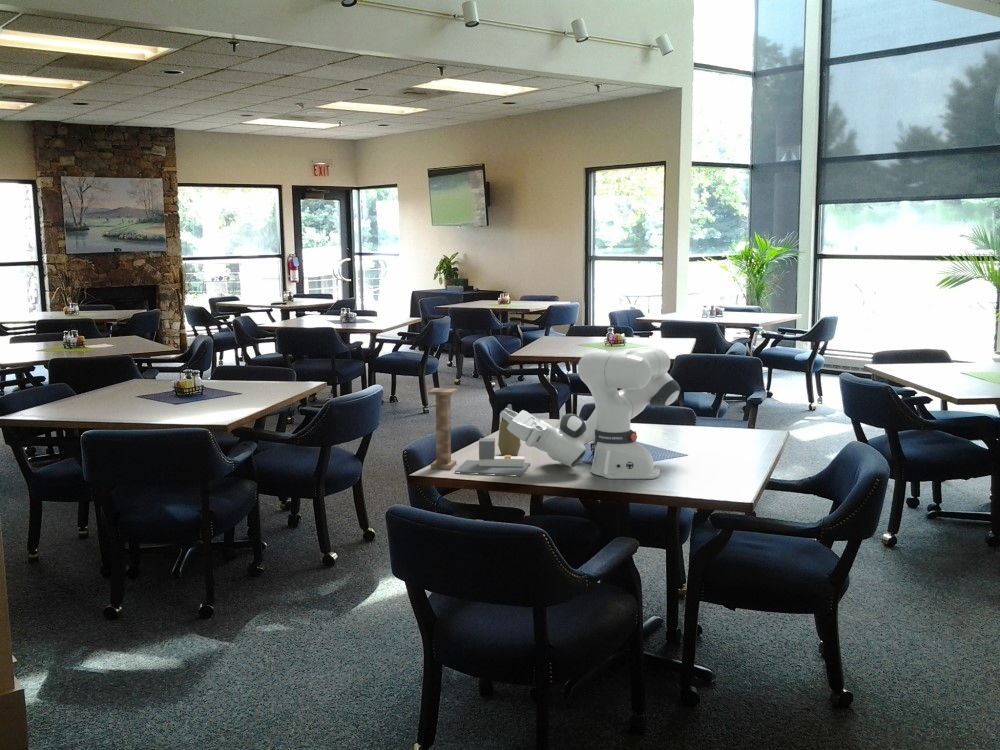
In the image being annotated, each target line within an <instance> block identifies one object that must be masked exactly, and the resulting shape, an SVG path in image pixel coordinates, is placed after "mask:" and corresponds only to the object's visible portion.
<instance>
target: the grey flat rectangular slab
mask: <svg viewBox="0 0 1000 750" xmlns="http://www.w3.org/2000/svg"><path fill="white" fill-rule="evenodd" d="M530 466H531V462H525V465H524V467H523V466H479V459H478V460H476V459H466V460H465V461H464V462H463V463H462V464H461V465H459V467H458V468H457V469H455V470H454V473H455V472H460V473H478V474H495V475H494V476H497V475H516V476H515V477H517V476H522V477H523V475H524V474H525V473H526V471H528V469H529V468H528V467H530ZM524 472H525V473H524ZM523 473H524V474H523ZM478 474H477V475H478Z"/></svg>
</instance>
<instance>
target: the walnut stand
mask: <svg viewBox="0 0 1000 750" xmlns="http://www.w3.org/2000/svg"><path fill="white" fill-rule="evenodd" d="M458 389H459V388H449V387H434V388H432V389H431V390H428V391H427V395H429V396H430V395H432V396H435V454H436V455H435V459H436V460H434V461H433V462H432V463H430V469H431V468H434V469H433V470H446V469H451V470H453V469H454V468H455V467H456V466H457V460H452V441H451V440H452V438H451V437H452V431H451V430H452V425H451V424H452V423H451V422H452V421H451V420H452V417H451V416H452V415H451V412H452V411H451V396H453V395H455V394H456V393H458V391H459V390H458ZM455 465H456V466H455ZM454 466H455V467H454ZM453 467H454V468H453ZM452 468H453V469H452Z"/></svg>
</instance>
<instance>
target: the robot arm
mask: <svg viewBox="0 0 1000 750" xmlns="http://www.w3.org/2000/svg"><path fill="white" fill-rule="evenodd" d="M670 367H671V358H670V356H669V354H668V353H667V352H666V351H664V350H662V349H659V348H653V347H649V348H648V347H647V348H640V349H634V350H633V349H632V350H629V351H627V352H626V353H625V354H624V353H615V352H614V353H613V352H601V351H598V352H597V351H596V352H591V353H590V352H589V353H585V354H583V355H582V356H581V357H580V359H579V361H578V364H577V374H578V376H579V378H580V380H581V381H582V382H583V383H584V384H585V386H586V387H588V389H589V391H590V393H591V395H592V399H593V402H594V405H595V408H594V410H593V412H592V413H591V415H590V416H589V418H587V420H586V421H584V419H583V418H582V417H581V416H579V415H578V414H575V413H574V414H573V413H566V414H564V415H563V416H562V417H560V419H559V420H558V422H557V423H556V425H555V426H553V425H552V424H550V423H548V422H546V421H545V420H543V419H538V418H537V417H535V416H534V415H533V414H531V413H529V412H528V411H526V410H524V409H522V410H521V411H519V413H518V412H516V411H514V410H513V409H512V410H509V409H508V408H507V407H505V408H504V409H503V410H501V411H500V413H499V417H501V418H502V419H503V418H504V419H505V420H506V421H507V422H508V423H509V425H508V427H507V429H508V430H509V431H510V432H511V433H512V434H513V435H515V436H516V437H518V438H519V439H520V441H522V442H525V443H524V445H526V446H527V447H530V448H536V449H537V450H539V451H541V452H543V453H546V454H547V455H548V457H549V458H550V459H551V460H554V461H556V462H558V463H561V464H562V465H565V466H567V467H570V468H571V467H575V466H576V465H578V464H579V463H580V461H581V460H582V459H583V458H584V456H585V454H586V451H587V449H586V445H588V444H590V443H591V442H592V441H594V442H593V443H594V454H593V455H594V456H593V460H592V464H591V468H590V470H589V471H590V473H592V474H593V475H597V476H601V477H603V478H605V479H613V480H614V479H616V480H622V479H624V480H625V479H627V480H629V479H630V480H631V479H632V480H634V479H635V480H640V479H642V480H643V479H644V480H653V479H657V478H659V477H660V476H661V469H660V468H659V467H657V466H655V464H654V459H653V458H654V457H653V456H652V454H651V452H650V451H649V450H648V449H646V448H645V447H644V446H643V445H642V444H640V443H639V442H637V439H638V435H637V432H636V430H632V429H631V420H632V419H634V418H635V417H636V416H638V415H639V414H640V413H641V412H643V411H644V410H645V409H646V407H647V406H648V405H649V406H650V407H651V408H653V409H655V408H665V407H668V406H671V404H673V403H674V402H676V400H677V399H678V397H679V395H680V393H681V386H680V385H679V383H678V381H677V380H675V379H674V378H673V377H672V376H671V374H669V373H668V371H669V370H670ZM618 389H619V390H618ZM659 475H660V476H659Z"/></svg>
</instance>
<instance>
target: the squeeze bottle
mask: <svg viewBox="0 0 1000 750" xmlns="http://www.w3.org/2000/svg"><path fill="white" fill-rule="evenodd" d="M506 408H508V409H509V410H512V411H513V407H512V404H507V406H506ZM508 425H509V423H508V422H507V421H506V420H505V419H504V418H503V417H502V420H501V421H500V422H499V429H498V431H499V432H498V439H497V440H498V441H497V445H498V449H499V451H500V456H505V455H511V456H519V455H518V454H519V452H520V449H521V445H522V444H521V443H522V442H521V439H519V438H518V437H516V436H515V435H513V434H512V433H511V432H510V431H509V430H508V429H507V427H508Z"/></svg>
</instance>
